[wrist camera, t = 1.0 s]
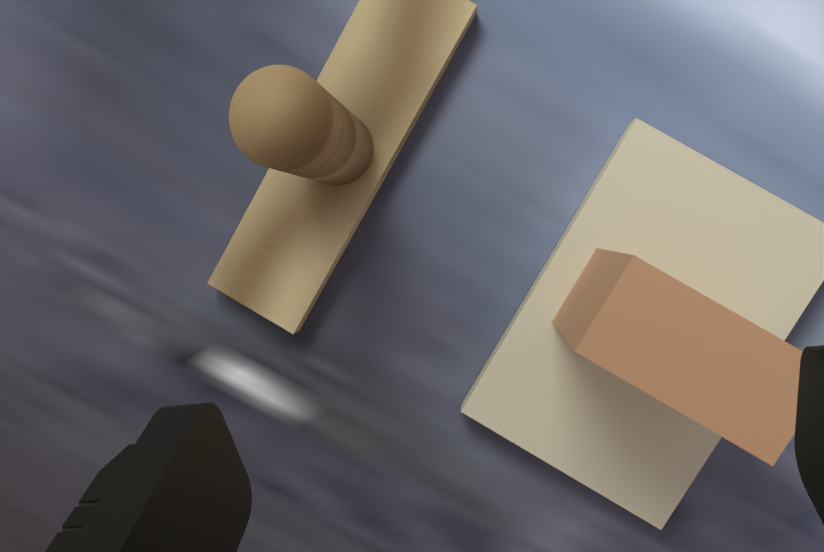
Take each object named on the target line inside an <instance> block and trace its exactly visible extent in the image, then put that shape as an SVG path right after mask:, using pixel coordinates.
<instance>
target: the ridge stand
mask: <svg viewBox="0 0 824 552" xmlns="http://www.w3.org/2000/svg"><path fill="white" fill-rule="evenodd" d="M823 281H824V223H823V222H821V221H819V220H818V219H816V218H814V217H812V216H810V215H809V214H807V213H805V212H803V211H801V210H800V209H798V208H796V207H794V206H793V205H791V204H789V203H787V202H785V201H784V200H782V199H780V198H778V197H776V196H775V195H773V194H771V193H769V192H767V191H766V190H764V189H762V188H760V187H759V186H757V185H755V184H753V183H751V182H750V181H748V180H746V179H744V178H742V177H741V176H739V175H737V174H735V173H733V172H732V171H730V170H728V169H726V168H725V167H723V166H721V165H719V164H717V163H716V162H714V161H712V160H710V159H708V158H707V157H705V156H703V155H701V154H700V153H698V152H696V151H694V150H692V149H691V148H689V147H687V146H685V145H683V144H682V143H680V142H678V141H676V140H674V139H673V138H671V137H669V136H667V135H666V134H664V133H662V132H660V131H658V130H657V129H655V128H653V127H651V126H649V125H648V124H646V123H644V122H642V121H641V120H639V119H637V118H636V119H635V120H633V121H632V122H630V123H629V125H628V126H627V128H626V130H625V131H624V133H623V135H622V136H621V138H620V140H619V141H618V143H617V145H616V146H615V148H614V150H613V151H612V153H611V155H610V156H609V158H608V160H607V161H606V163H605V165H604V167H603V168H602V170H601V172H600V173H599V175H598V177H597V178H596V180H595V182H594V183H593V185H592V187H591V188H590V190H589V192H588V193H587V195H586V197H585V198H584V200H583V202H582V203H581V205H580V207H579V208H578V210H577V212H576V213H575V215H574V217H573V218H572V220H571V222H570V223H569V225H568V227H567V228H566V230H565V232H564V233H563V235H562V237H561V238H560V240H559V242H558V243H557V245H556V247H555V248H554V250H553V252H552V254H551V255H550V257H549V259H548V260H547V262H546V264H545V265H544V267H543V269H542V270H541V272H540V274H539V275H538V277H537V279H536V280H535V282H534V284H533V285H532V287H531V289H530V290H529V292H528V294H527V295H526V297H525V299H524V300H523V302H522V304H521V305H520V307H519V309H518V310H517V312H516V314H515V315H514V317H513V319H512V320H511V322H510V324H509V325H508V327H507V329H506V330H505V332H504V334H503V335H502V337H501V339H500V340H499V342H498V344H497V346H496V347H495V349H494V351H493V352H492V354H491V356H490V357H489V359H488V361H487V362H486V364H485V366H484V367H483V369H482V371H481V372H480V374H479V376H478V377H477V379H476V381H475V382H474V384H473V386H472V387H471V389H470V391H469V392H468V394H467V396H466V397H465V399H464V401H463V402H462V404H461V412H462V413H464V414H465V415H467V416H469V417H470V418H472V419H474V420H475V421H477V422H479V423H481V424H482V425H484V426H486V427H487V428H489V429H491V430H492V431H494V432H496V433H497V434H499V435H501V436H503V437H504V438H506V439H508V440H509V441H511V442H513V443H514V444H516V445H518V446H519V447H521V448H523V449H525V450H526V451H528V452H530V453H531V454H533V455H535V456H536V457H538V458H540V459H542V460H543V461H545V462H547V463H548V464H550V465H552V466H553V467H555V468H557V469H558V470H560V471H562V472H564V473H565V474H567V475H569V476H570V477H572V478H574V479H575V480H577V481H579V482H580V483H582V484H584V485H586V486H587V487H589V488H591V489H592V490H594V491H596V492H597V493H599V494H601V495H602V496H604V497H606V498H608V499H609V500H611V501H613V502H614V503H616V504H618V505H619V506H621V507H623V508H624V509H626V510H628V511H630V512H631V513H633V514H635V515H636V516H638V517H640V518H641V519H643V520H645V521H646V522H648V523H650V524H652V525H653V526H655V527H657V528H658V529H660V530H662V528H663V527H664V525H665V524H666V522H667V521H668V519H669V517H670V516H671V514H672V513H673V511H674V510H675V508H676V507H677V505H678V504H679V502H680V501H681V499H682V497H683V496H684V494H685V493H686V491H687V490H688V488H689V487H690V485H691V484H692V482H693V481H694V479H695V477H696V476H697V474H698V473H699V471H700V470H701V468H702V467H703V465H704V464H705V462H706V461H707V459H708V457H709V456H710V454H711V453H712V451H713V450H714V448H715V447H716V445H717V444H718V442H719V441H720V439H721V437H723V438H725V439H727V440H728V441H730V442H732V443H733V444H735V445H737V446H739V447H740V448H742V449H744V450H746V451H747V452H749V453H751V454H752V455H754V456H756V457H758V458H759V459H761V460H763V461H764V462H766V463H768V464H770V465H771V466H773V465H774V464H775V462H776V461H777V459H778V458H779V456H780V455H781V453H782V452H783V450H784V449H785V447H786V446H787V444H788V443H789V441H790V440H791V438H792V437H793V435H794V434H795V425H796V412H797V398H798V385H799V371H800V360H801V355H802V352H803V351H801V350H800V349H798V348H796V347H794V346H793V345H791V344H789V343H787V342H786V341H785V339H786V338H787V336H788V334H789V333H790V331H791V330H792V328H793V327H794V325H795V324H796V322H797V321H798V319H799V318H800V316H801V314H802V313H803V311H804V310H805V308H806V307H807V305H808V304H809V302H810V301H811V299H812V298H813V296H814V294H815V293H816V291H817V290H818V288H819V287H820V285H821V284H822V282H823Z"/></svg>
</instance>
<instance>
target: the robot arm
mask: <svg viewBox="0 0 824 552" xmlns="http://www.w3.org/2000/svg"><path fill="white" fill-rule="evenodd" d="M795 454H796V460H797V465H798V469H799V472H800V476H801V479H802V482H803V484H804V487H805V489H806V491H807V493H808V495H809V497H810V499H811V501H812V503H813V505H814V507H815V509H816V510H817V512H818V514H819V516H820V518H821V520H822V522H823V524H824V345H820V346H810V347H806V348H805V349H804V350H803V352H802V355H801V360H800V371H799V385H798V398H797V412H796V425H795ZM251 503H252V494H251V485H250V481H249V478H248V475H247V472H246V470H245V468H244V465H243V463H242V460H241V458H240V456H239V453H238V451H237V448H236V446H235V444H234V441H233V439H232V436H231V434H230V432H229V429H228V427H227V424H226V422H225V420H224V417H223V415H222V413H221V411H220V409H219V408H218V407H217V406H216V405H215V404H213V403H200V404H190V405H180V406H169V407H162V408H160V409H159V410H158V411H157V412H156V413H155V414H154V416H153V417H152V419H151V420H150V422H149V423H148V425H147V426H146V428H145V430H144V431H143V433H142V434H141V436H140V437H139V439H138V440H137V442H136V444H132V445H128V446H127V447H126V448H125V449H124V450H123V451H121V452H120V453H119V454H118V455H117V456H116V457H115V458H114V459H113V460H111V461H110V462H109V463H108V464H107V465H106V466H105V467H104V468H102V469H101V470H100V471H99V472H98V474H97V475H96V477H95V478H94V480H93V481H92V483H91V484H90V486H89V487H88V489H87V490H86V492H85V493H84V495H83V496H82V498H81V499H80V501H79V507H75V508H74V510H73V511H72V512H71V514H70V515H69V517H68V518H67V520H66V521H65V523H64V524H63V526H62V528H63V530H62V533H57V535H56V536H55V538H54V539H53V541H52V542H51V544H50V545H49V547H48V548H47V550H46V551H45V552H237V549H238V547H239V544H240V542H241V539H242V536H243V534H244V531H245V529H246V526H247V523H248V520H249V517H250V512H251Z"/></svg>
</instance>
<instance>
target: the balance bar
mask: <svg viewBox="0 0 824 552" xmlns="http://www.w3.org/2000/svg"><path fill="white" fill-rule="evenodd" d="M476 14H477V5H476V4H474V3H472V2H470V1H468V0H359V2H358V4H357V6H356V8H355V10H354V12H353V13H352V15H351V17H350V19H349V21H348V23H347V25H346V26H345V28H344V30H343V32H342V34H341V36H340V38H339V39H338V41H337V43H336V45H335V47H334V49H333V51H332V52H331V54H330V56H329V58H328V60H327V62H326V64H325V65H324V67H323V69H322V71H321V73H320V75H319V77H318V79H317V80H316V81H315V80H314V79H313V78H312V77H311V76H310V75H308V74H307V73H305V72H304V71H302V70H300V69H298V68H295V67H292V66H288V65H270V66H266V67H263V68H260V69H258V70H256V71H254V72H253V73H251V74H250V75H249V76H247V77H246V78H245V79H244V80H243V81H242V82H241V84H240V85H239V86H238V88H237V89H236V91H235V93H234V95H233V97H232V100H231V104H230V109H229V125H230V130H231V133H232V136H233V139H234V141H235V143H236V144H237V146H238V147H239V149H240V150H241V151H242V152H243V154H244V155H245V156H247V157H248V158H249V159H250V160H252V161H253V162H255V163H257V164H259V165H261V166H264V167H267V168H269V170H268V172H267V173H266V175H265V177H264V179H263V181H262V183H261V185H260V186H259V188H258V190H257V192H256V194H255V196H254V198H253V199H252V201H251V203H250V205H249V207H248V209H247V211H246V213H245V214H244V216H243V218H242V220H241V222H240V224H239V226H238V227H237V229H236V231H235V233H234V235H233V237H232V239H231V240H230V242H229V244H228V246H227V248H226V250H225V252H224V253H223V255H222V257H221V259H220V261H219V263H218V265H217V267H216V268H215V270H214V272H213V274H212V276H211V278H210V280H209V281H208V283H207V284H209V285H211V286H212V287H214V288H216V289H217V290H219V291H221V292H222V293H224V294H226V295H228V296H229V297H231V298H233V299H234V300H236V301H238V302H239V303H241V304H243V305H244V306H246V307H248V308H250V309H251V310H253V311H255V312H256V313H258V314H260V315H261V316H263V317H265V318H266V319H268V320H270V321H272V322H273V323H275V324H277V325H278V326H280V327H282V328H283V329H285V330H287V331H288V332H290V333H292V334H295V333H296V332H298V331H300V329H301V327H302V326H303V324H304V322H305V320H306V319H307V317H308V315H309V313H310V311H311V310H312V308H313V306H314V304H315V302H316V301H317V299H318V297H319V295H320V293H321V292H322V290H323V288H324V286H325V285H326V283H327V281H328V279H329V277H330V276H331V274H332V272H333V270H334V268H335V267H336V265H337V263H338V261H339V259H340V258H341V256H342V254H343V252H344V251H345V249H346V247H347V245H348V243H349V242H350V240H351V238H352V236H353V234H354V233H355V231H356V229H357V227H358V225H359V224H360V222H361V220H362V218H363V217H364V215H365V213H366V211H367V209H368V208H369V206H370V204H371V202H372V200H373V199H374V197H375V195H376V193H377V192H378V190H379V188H380V186H381V184H382V183H383V181H384V179H385V177H386V175H387V174H388V172H389V170H390V168H391V166H392V165H393V163H394V161H395V159H396V158H397V156H398V154H399V152H400V150H401V149H402V147H403V145H404V143H405V141H406V140H407V138H408V136H409V134H410V132H411V131H412V129H413V127H414V125H415V124H416V122H417V120H418V118H419V116H420V115H421V113H422V111H423V109H424V107H425V106H426V104H427V102H428V100H429V98H430V97H431V95H432V93H433V91H434V90H435V88H436V86H437V84H438V82H439V81H440V79H441V77H442V75H443V73H444V72H445V70H446V68H447V66H448V64H449V63H450V61H451V59H452V57H453V56H454V54H455V52H456V50H457V48H458V47H459V45H460V43H461V41H462V39H463V38H464V36H465V34H466V32H467V31H468V29H469V27H470V25H471V23H472V22H473V20H474V18H475V16H476Z"/></svg>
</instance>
